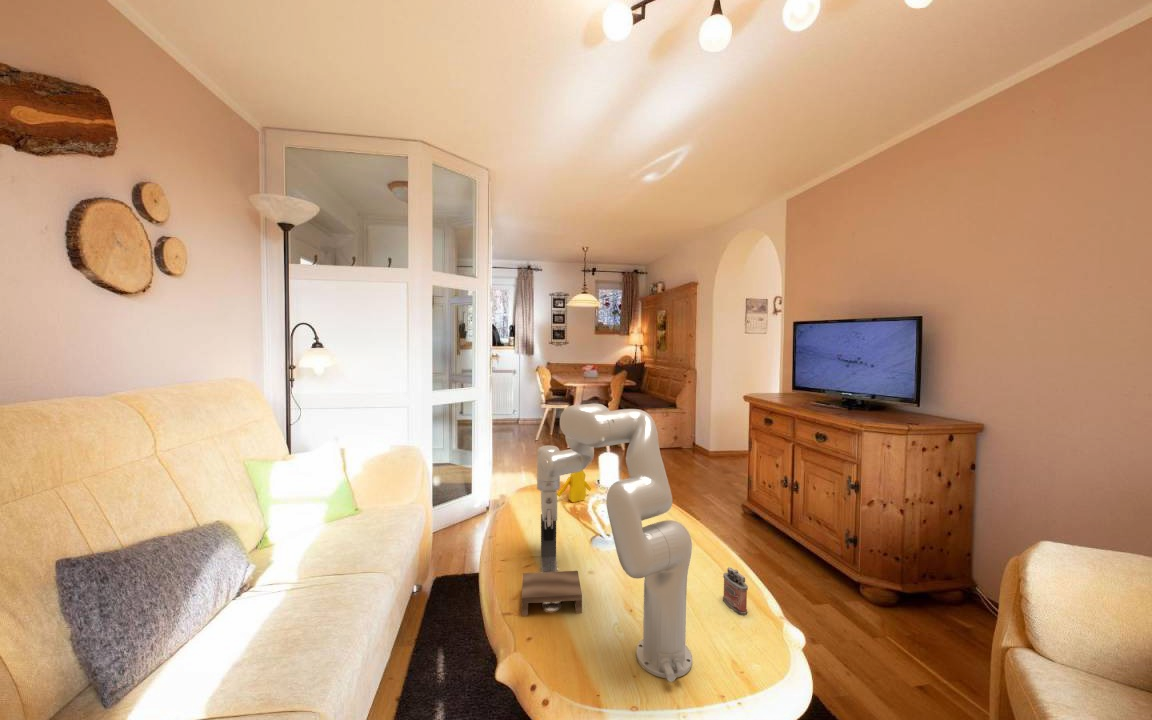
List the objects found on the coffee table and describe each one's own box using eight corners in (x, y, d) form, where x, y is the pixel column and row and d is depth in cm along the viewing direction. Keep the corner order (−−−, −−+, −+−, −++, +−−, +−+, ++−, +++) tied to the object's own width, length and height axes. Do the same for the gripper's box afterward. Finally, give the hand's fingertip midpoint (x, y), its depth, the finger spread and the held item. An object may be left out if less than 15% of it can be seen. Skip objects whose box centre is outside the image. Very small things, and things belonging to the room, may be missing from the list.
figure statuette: (588, 494, 204) (589, 447, 203) (597, 499, 197) (597, 451, 196) (554, 500, 196) (554, 452, 194) (562, 506, 189) (562, 456, 187)
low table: (581, 612, 116) (582, 594, 116) (521, 616, 115) (521, 597, 114) (577, 587, 128) (577, 570, 128) (522, 589, 127) (522, 573, 126)
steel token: (561, 612, 117) (561, 608, 117) (542, 613, 116) (542, 609, 116) (560, 601, 122) (560, 597, 122) (542, 602, 121) (542, 598, 121)
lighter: (719, 599, 122) (720, 565, 122) (729, 597, 123) (730, 562, 123) (740, 616, 115) (740, 580, 114) (750, 614, 116) (751, 577, 115)
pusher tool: (558, 586, 129) (558, 539, 128) (541, 586, 128) (541, 540, 127) (555, 554, 147) (555, 513, 147) (540, 554, 147) (540, 514, 146)
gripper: (561, 492, 137) (561, 549, 138) (558, 475, 153) (558, 526, 154) (537, 492, 136) (537, 550, 137) (537, 476, 152) (537, 527, 153)
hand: (548, 537), depth 145 cm, fingers closed on pusher tool, 3 cm apart
